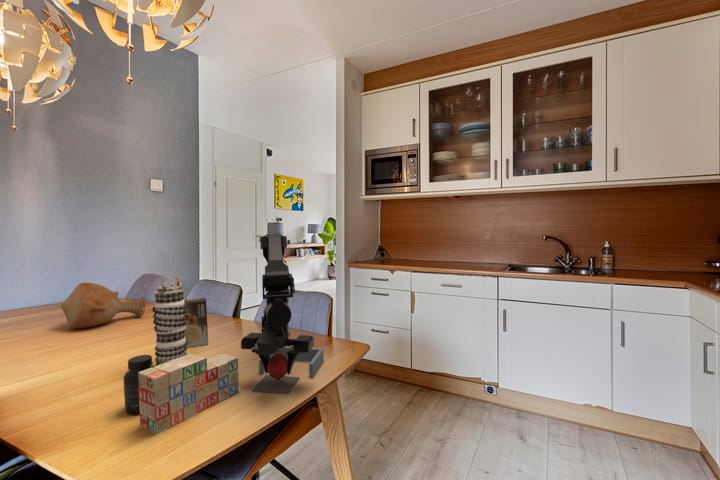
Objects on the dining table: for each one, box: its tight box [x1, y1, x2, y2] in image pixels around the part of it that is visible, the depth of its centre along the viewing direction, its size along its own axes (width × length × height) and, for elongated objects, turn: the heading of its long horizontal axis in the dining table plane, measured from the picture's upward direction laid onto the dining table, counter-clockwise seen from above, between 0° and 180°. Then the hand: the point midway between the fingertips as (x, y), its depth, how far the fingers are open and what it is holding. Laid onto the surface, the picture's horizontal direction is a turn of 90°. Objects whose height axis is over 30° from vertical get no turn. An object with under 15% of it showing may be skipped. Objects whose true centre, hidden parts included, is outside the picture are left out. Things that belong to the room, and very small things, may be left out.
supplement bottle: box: [123, 354, 155, 416], centre depth 82 cm, size 7×7×12 cm
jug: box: [60, 282, 147, 329], centre depth 153 cm, size 20×19×30 cm
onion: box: [267, 350, 288, 380], centre depth 94 cm, size 6×6×8 cm
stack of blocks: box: [138, 353, 240, 435], centre depth 82 cm, size 21×6×12 cm, turn 150°
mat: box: [251, 374, 301, 395], centre depth 94 cm, size 10×9×1 cm
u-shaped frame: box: [258, 346, 325, 379], centre depth 105 cm, size 16×12×4 cm
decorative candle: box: [151, 284, 188, 367], centre depth 105 cm, size 9×9×25 cm
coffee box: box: [184, 297, 209, 349], centre depth 126 cm, size 9×6×16 cm
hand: (278, 373), depth 94 cm, fingers closed on onion, 6 cm apart
